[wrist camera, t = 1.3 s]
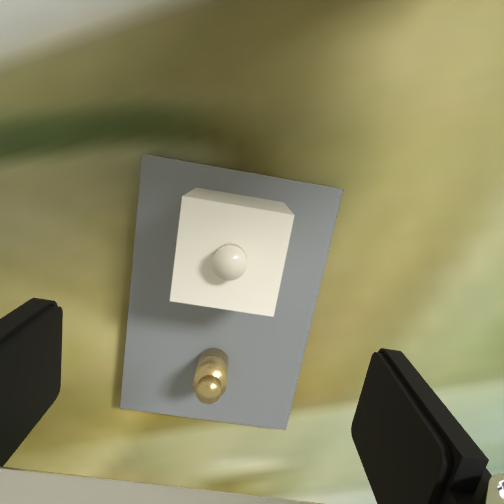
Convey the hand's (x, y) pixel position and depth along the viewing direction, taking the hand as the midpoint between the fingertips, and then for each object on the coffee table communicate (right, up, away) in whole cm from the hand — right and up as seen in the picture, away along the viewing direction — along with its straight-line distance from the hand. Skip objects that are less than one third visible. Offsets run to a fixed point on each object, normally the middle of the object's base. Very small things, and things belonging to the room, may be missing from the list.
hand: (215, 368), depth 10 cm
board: (-1, -1, +19) cm, 19 cm away
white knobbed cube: (0, +5, +16) cm, 17 cm away
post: (-2, -6, +19) cm, 20 cm away
